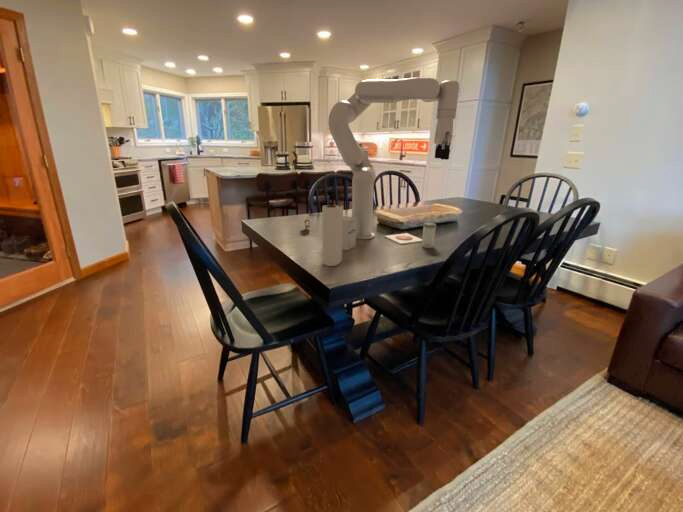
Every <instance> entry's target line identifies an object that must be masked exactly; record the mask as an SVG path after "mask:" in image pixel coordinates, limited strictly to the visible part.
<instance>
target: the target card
mask: <svg viewBox="0 0 683 512" xmlns="http://www.w3.org/2000/svg"><path fill="white" fill-rule="evenodd" d="M385 237H386V239H388V240H389V241H393V242H394V243H396V244H399V245H401V246H402V245H407V244H409V245H410V244H415V243H416V244H417V243H422V238H420V237H417V236H415V235H412V234H410V233H408V232H405V233H398V234H388V235H384V238H385Z"/></svg>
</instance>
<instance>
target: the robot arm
mask: <svg viewBox="0 0 683 512" xmlns="http://www.w3.org/2000/svg"><path fill="white" fill-rule="evenodd" d="M459 89H460V82H459V81H458V80H455V79H454V80H453V79H452V80H451V79H450V80H444V81H441V82H439V81H438V80H437V79H436V78H433V77H409V78H397V79H365V80H363V79H362V80H360V81H359V82H358V83H357V84H356V85H355V89H354V93H353V94H352V95H351V96H350V97H349V98H348V99H346V100H339V101H337V102H336V103H335V104H334V105H333V106H332V108H331V110H330V112H329V115H328V128H329V133H330V135H331V137H332V140H333V142H334V144H335V145H336V148H337V150H338V152H339V154H340V156H341V158H342V160H343V163H344V164H345V165H346V166H348V167H349V169H350V170H351V172H352V174H353V175H352V179H351V180H352V182H351V185H352V189H351V190H352V191H351V192H352V196H351V197H352V200H351V201H352V202H351V203H352V205H351V206H352V207H351V208H352V209H351V217H353V218H357V223H356V240H372V239H374V238H375V232H372V231H373V230H372V227H373V226H372V225H373V212H374V211H373V210H374V209H373V208H374V185H375V181H376V172H375V169H374V167H373V165H372V163H371V161H370V159H369V157H368V155H367V152H366V151H365V149H364V148H363V147H362V146H361V145H359V144H358V142H357V140H356V139H355V137H354V134H353V132H352V129H351V128H350V125H349V124H351V123H352V122H354V121H355V120H357V118H358V117H359V116H361V114H363V113H364V111H366V110H367V109H368V107H370V105H372V104H377V103H378V104H379V103H380V104H384V103H385V104H393V103H394V104H395V103H398V102H402V101H409V100H422V102H424V103H432V102H437V106H436V107H437V108H436V118H435V119H436V120H437V121H436V125H435V126H436V127H435V132H434V138H433V140H434V141H433V143H434V144H435V148H434V149H435V151H434V152H435V153H434V159H440V160H442V161H443V160H450V151H451V144H452V140H453V132H454V130H453V129H454V120H456V118H457V117H456V116H457V110H458V109H457V108H458V98H459Z"/></svg>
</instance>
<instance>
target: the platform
mask: <svg viewBox="0 0 683 512" xmlns="http://www.w3.org/2000/svg"><path fill="white" fill-rule="evenodd" d="M302 220H303V222H302V223H303V225H304V226H305V230H307V229H310V226H311V225H312V224H313V223H312V222H313V221H312V220H311V219H310V218H308V217H305V218H304V219H302ZM305 233H306V234H307V231H305Z"/></svg>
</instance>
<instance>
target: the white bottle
mask: <svg viewBox="0 0 683 512" xmlns="http://www.w3.org/2000/svg"><path fill="white" fill-rule="evenodd" d="M356 223H357V218H353V217H352V216H345V215H343V238H342V251H346V250H347V251H348V250H350V249H353V248H355V247H356V244H357V243H356V242H357V239H356Z"/></svg>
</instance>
